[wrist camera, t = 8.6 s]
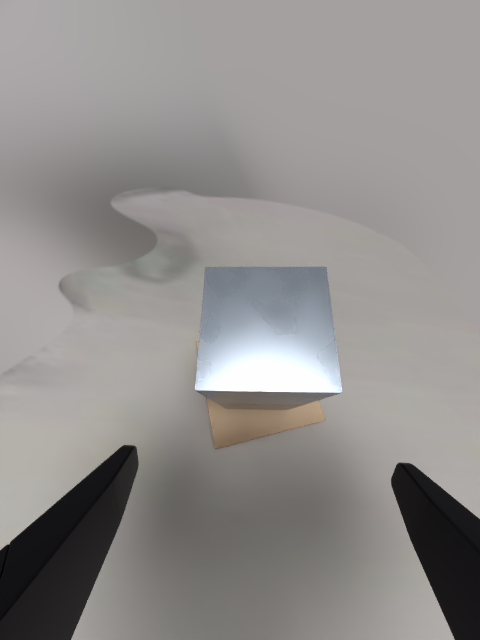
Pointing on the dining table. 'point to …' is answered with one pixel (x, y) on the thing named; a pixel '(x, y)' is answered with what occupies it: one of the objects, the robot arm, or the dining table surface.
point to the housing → (267, 338)
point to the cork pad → (257, 421)
